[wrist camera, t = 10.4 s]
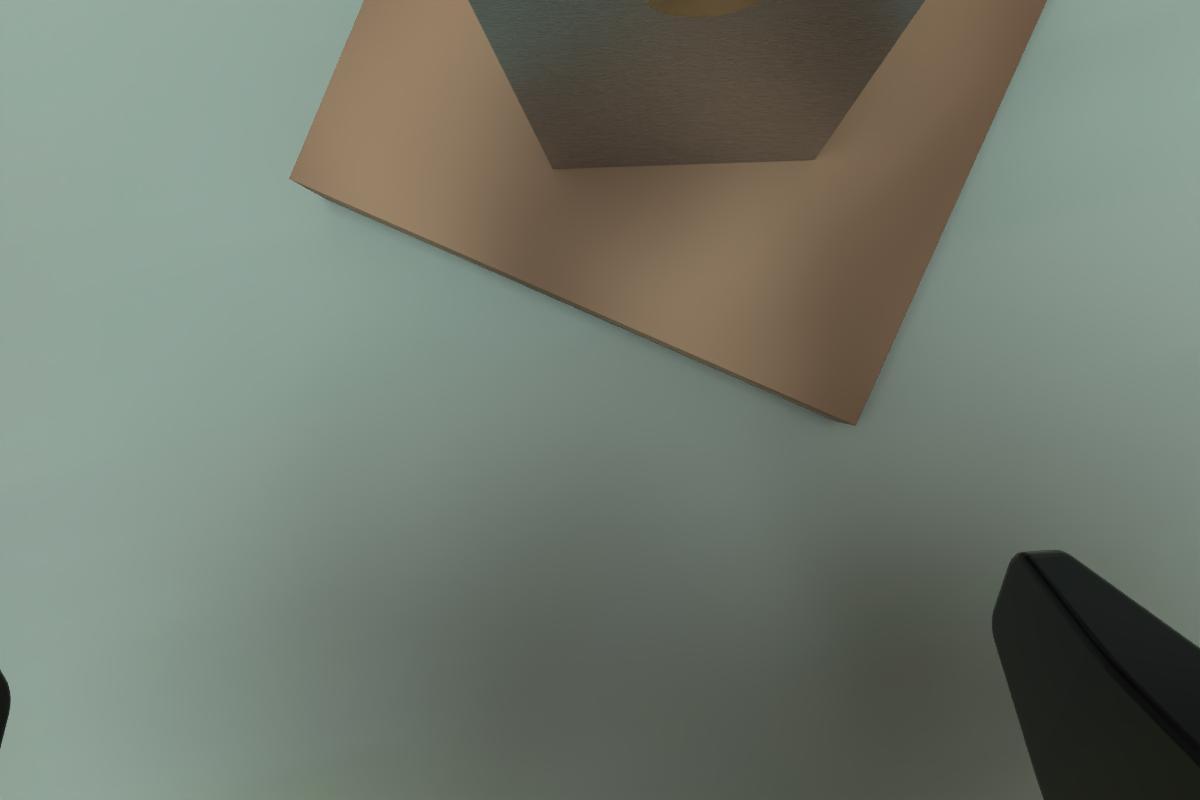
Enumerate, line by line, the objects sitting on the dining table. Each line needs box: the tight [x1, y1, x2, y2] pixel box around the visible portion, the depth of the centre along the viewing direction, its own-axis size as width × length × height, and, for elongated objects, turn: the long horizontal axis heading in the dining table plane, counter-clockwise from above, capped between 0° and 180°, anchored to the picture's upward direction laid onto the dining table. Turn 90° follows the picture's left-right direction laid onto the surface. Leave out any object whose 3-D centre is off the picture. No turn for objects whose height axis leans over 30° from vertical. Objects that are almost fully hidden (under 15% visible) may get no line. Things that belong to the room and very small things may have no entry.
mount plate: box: [289, 0, 1047, 425], centre depth 20 cm, size 12×11×2 cm
